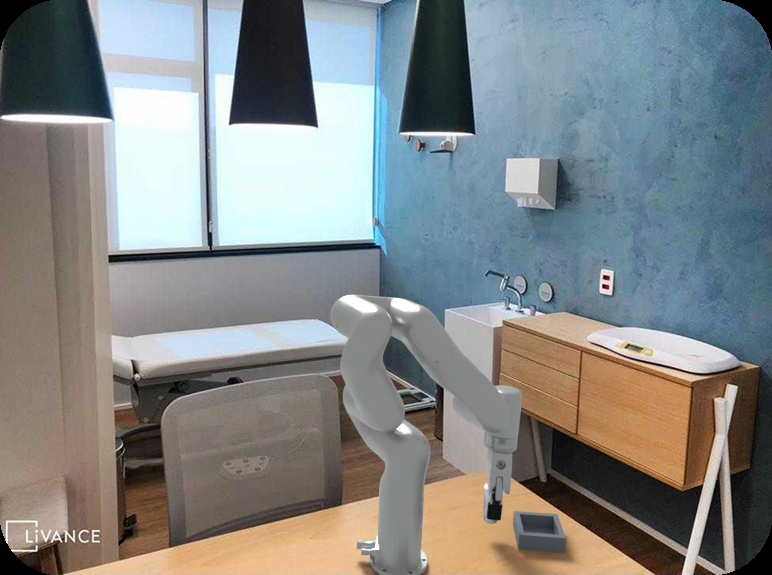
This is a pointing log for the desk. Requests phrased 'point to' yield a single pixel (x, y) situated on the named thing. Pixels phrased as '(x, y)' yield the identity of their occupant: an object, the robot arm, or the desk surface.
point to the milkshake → (486, 500)
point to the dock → (538, 531)
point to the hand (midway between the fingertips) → (492, 513)
